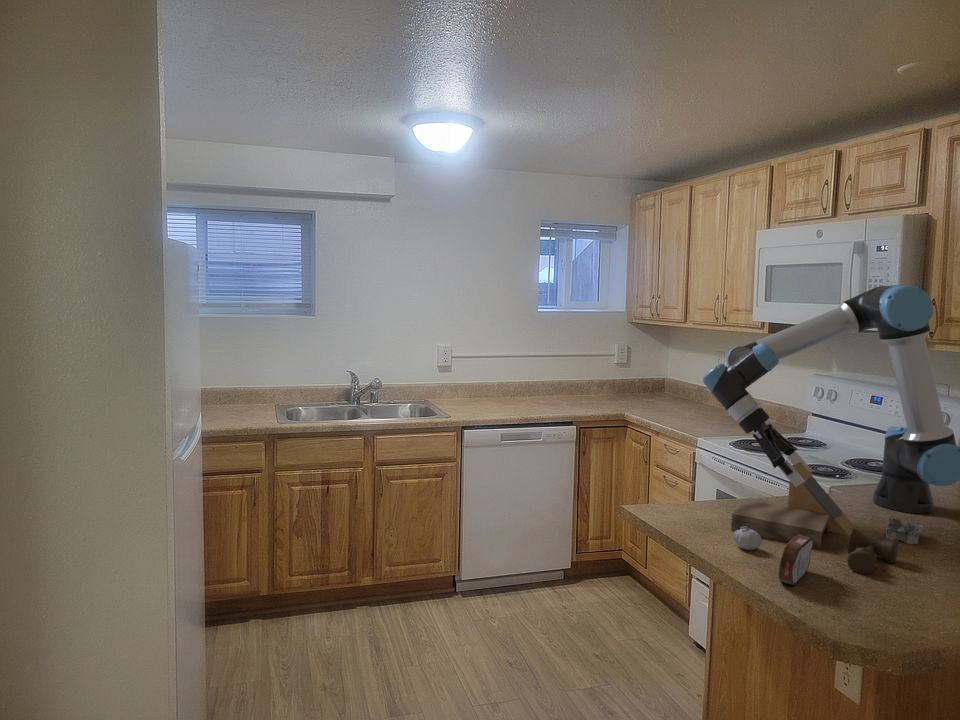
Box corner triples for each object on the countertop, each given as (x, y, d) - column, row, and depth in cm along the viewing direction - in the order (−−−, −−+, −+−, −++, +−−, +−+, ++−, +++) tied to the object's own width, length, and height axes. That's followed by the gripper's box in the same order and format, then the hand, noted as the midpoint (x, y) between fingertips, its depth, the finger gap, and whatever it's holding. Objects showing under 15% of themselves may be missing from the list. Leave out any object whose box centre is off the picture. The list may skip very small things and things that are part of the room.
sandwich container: (850, 537, 169) (856, 477, 168) (785, 522, 179) (790, 466, 178) (858, 529, 176) (863, 472, 175) (795, 515, 186) (799, 461, 184)
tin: (797, 566, 148) (800, 528, 147) (812, 570, 146) (816, 532, 145) (775, 587, 136) (779, 546, 136) (792, 592, 134) (796, 550, 134)
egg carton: (888, 529, 178) (890, 513, 177) (923, 536, 173) (924, 520, 173) (881, 539, 169) (883, 523, 169) (917, 547, 165) (919, 530, 164)
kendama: (833, 570, 148) (853, 544, 164) (884, 584, 142) (900, 556, 158) (836, 543, 148) (856, 520, 163) (887, 557, 142) (903, 531, 157)
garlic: (731, 549, 157) (733, 527, 156) (733, 542, 161) (735, 521, 161) (760, 555, 154) (762, 532, 154) (761, 547, 159) (762, 525, 159)
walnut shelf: (828, 531, 173) (829, 514, 173) (820, 549, 159) (821, 531, 159) (745, 514, 184) (746, 499, 183) (730, 530, 170) (732, 513, 170)
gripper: (747, 417, 198) (799, 477, 191) (726, 429, 177) (784, 497, 171) (768, 401, 195) (822, 462, 188) (749, 411, 174) (809, 480, 167)
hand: (804, 478), depth 179 cm, fingers open, 13 cm apart
